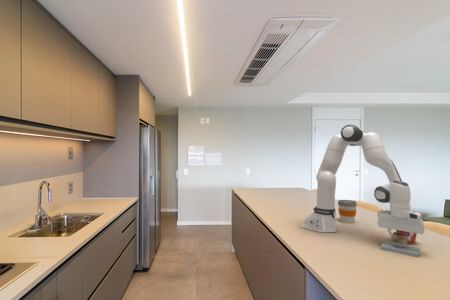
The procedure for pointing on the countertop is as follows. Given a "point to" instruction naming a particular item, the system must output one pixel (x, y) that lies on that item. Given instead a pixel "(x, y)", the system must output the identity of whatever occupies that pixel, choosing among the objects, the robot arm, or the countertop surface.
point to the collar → (399, 238)
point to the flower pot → (408, 236)
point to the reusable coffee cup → (347, 210)
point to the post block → (400, 248)
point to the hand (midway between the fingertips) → (400, 238)
